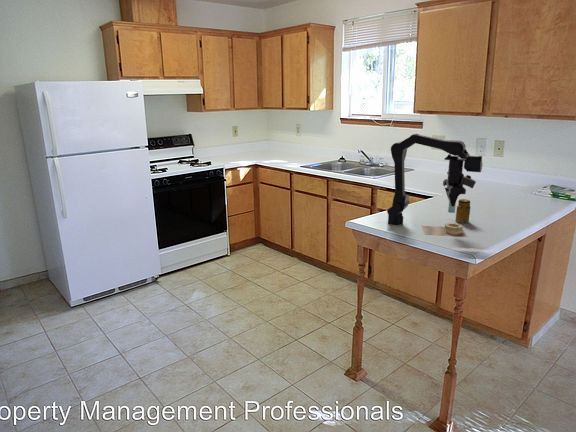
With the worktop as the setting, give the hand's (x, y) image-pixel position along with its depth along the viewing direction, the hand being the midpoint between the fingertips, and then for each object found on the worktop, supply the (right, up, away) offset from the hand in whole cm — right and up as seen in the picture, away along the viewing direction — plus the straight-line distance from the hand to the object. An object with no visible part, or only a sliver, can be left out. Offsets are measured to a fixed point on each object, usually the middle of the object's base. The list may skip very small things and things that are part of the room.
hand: (452, 205), depth 190 cm
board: (-2, -13, +5) cm, 14 cm away
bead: (+2, -12, +3) cm, 12 cm away
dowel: (0, -3, +1) cm, 3 cm away
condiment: (+12, -9, +18) cm, 23 cm away
